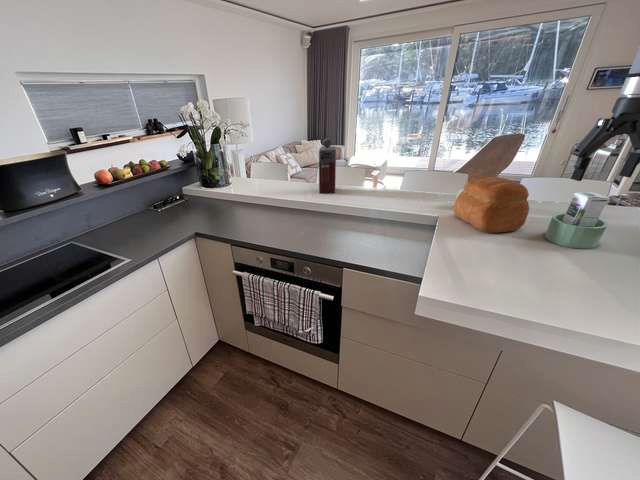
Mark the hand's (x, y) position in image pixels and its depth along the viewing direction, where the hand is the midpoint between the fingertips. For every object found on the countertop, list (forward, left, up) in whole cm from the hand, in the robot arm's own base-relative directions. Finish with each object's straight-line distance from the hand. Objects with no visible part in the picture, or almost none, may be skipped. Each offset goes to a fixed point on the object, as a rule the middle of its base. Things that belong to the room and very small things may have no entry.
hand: (600, 178), depth 85 cm
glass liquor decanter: (+72, -74, -21) cm, 105 cm away
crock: (0, 0, -20) cm, 20 cm away
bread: (+17, -18, -21) cm, 32 cm away
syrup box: (0, 0, -20) cm, 20 cm away
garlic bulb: (+15, -37, -21) cm, 45 cm away
